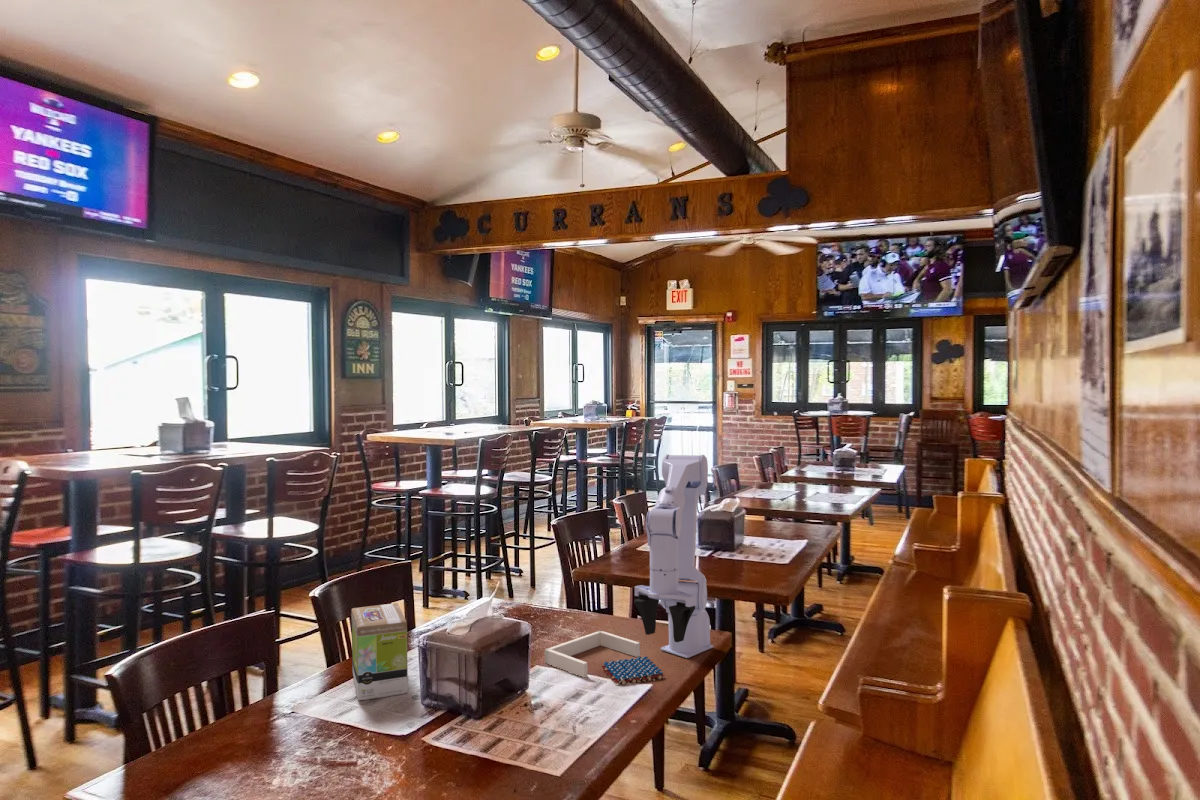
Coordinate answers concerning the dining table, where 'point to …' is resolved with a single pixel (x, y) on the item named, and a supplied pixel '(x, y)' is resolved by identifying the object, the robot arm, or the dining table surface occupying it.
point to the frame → (563, 652)
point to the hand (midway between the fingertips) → (664, 637)
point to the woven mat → (632, 670)
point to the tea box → (379, 651)
